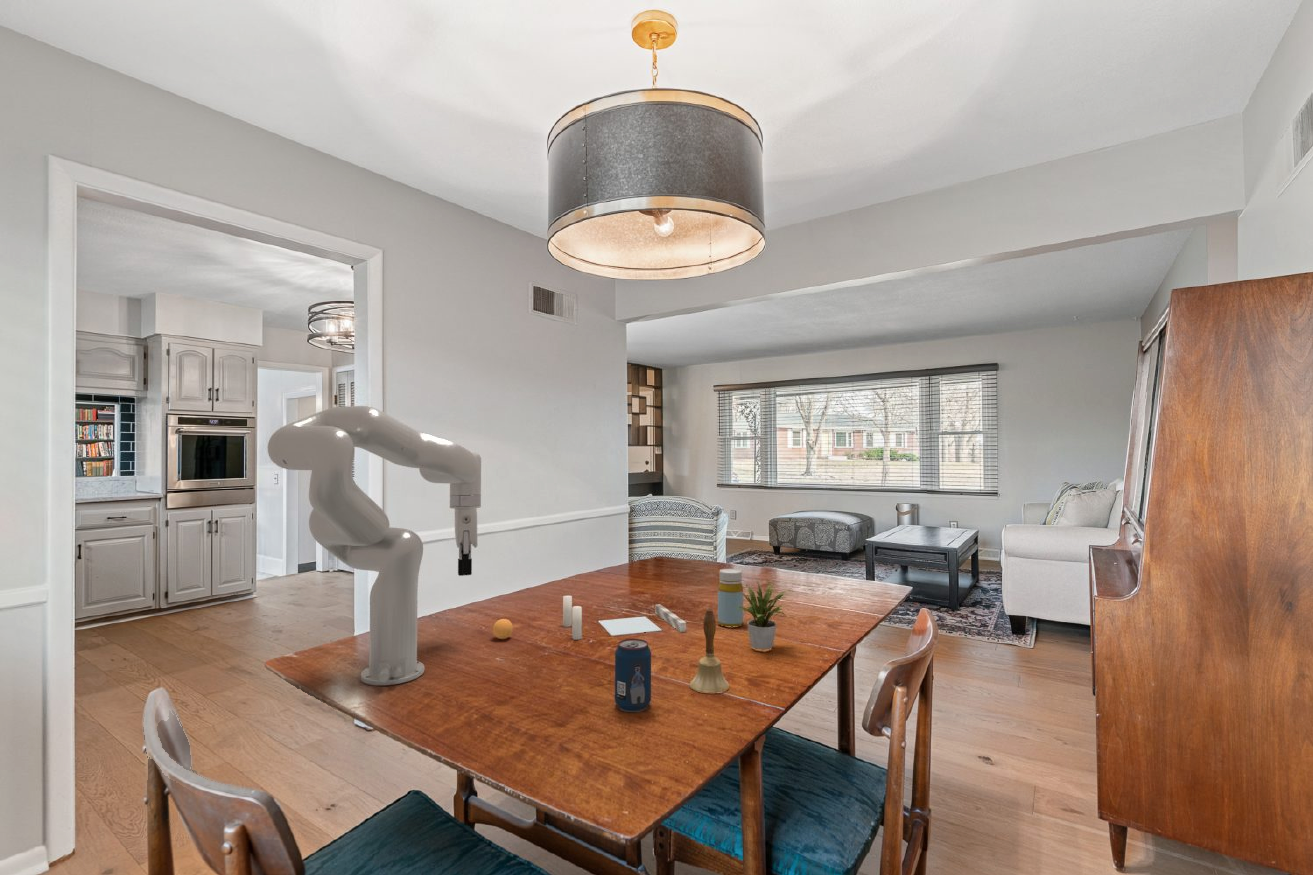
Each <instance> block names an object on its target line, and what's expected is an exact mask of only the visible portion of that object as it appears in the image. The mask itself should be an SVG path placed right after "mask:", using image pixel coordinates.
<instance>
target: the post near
mask: <svg viewBox="0 0 1313 875" xmlns="http://www.w3.org/2000/svg"><path fill="white" fill-rule="evenodd" d="M582 612H583V607H582V606H580V605H575V606H572V626H571V627H572V630H571V633H572V634H571V635H572V637H571V638H572V640H574V641H579V640H581V639H582V638H583V633H582V629H583V627H582V626H583V625H582V624H583V622H582V618H583V614H582Z"/></svg>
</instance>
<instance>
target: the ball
mask: <svg viewBox="0 0 1313 875" xmlns="http://www.w3.org/2000/svg"><path fill="white" fill-rule="evenodd" d="M513 631H514V627H513V623H512V622H511V621H510V620H509V619H506V618H500V619H499V620H497V621H496V622H494V624H493V628H492V633H493V635H494V637H495V638H497V639H499V640H506V639H508V638H509V637H511V635H512V633H513Z"/></svg>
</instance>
